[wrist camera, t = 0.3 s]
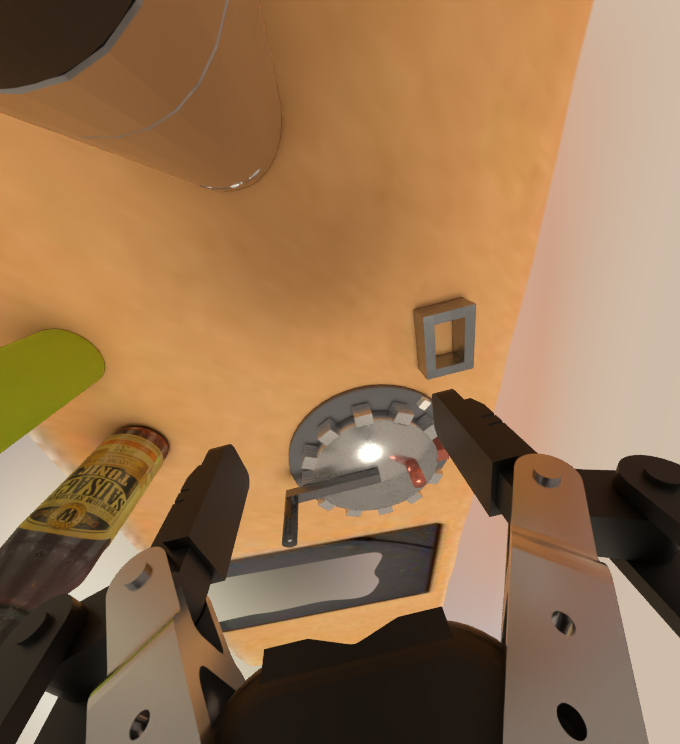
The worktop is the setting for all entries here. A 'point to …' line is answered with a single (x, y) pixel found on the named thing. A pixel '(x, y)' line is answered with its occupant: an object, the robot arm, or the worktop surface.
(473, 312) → the chain link
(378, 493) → the sprocket
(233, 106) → the robot arm
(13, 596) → the sauce bottle
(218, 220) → the worktop surface
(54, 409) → the soap dispenser
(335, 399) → the sprocket base
